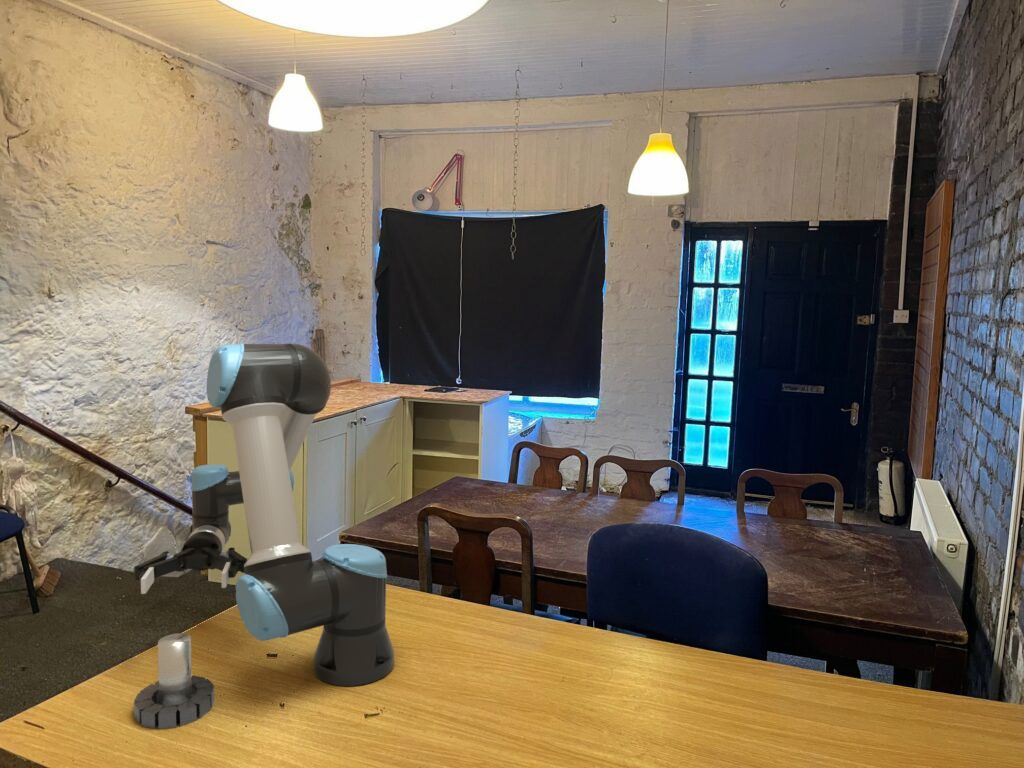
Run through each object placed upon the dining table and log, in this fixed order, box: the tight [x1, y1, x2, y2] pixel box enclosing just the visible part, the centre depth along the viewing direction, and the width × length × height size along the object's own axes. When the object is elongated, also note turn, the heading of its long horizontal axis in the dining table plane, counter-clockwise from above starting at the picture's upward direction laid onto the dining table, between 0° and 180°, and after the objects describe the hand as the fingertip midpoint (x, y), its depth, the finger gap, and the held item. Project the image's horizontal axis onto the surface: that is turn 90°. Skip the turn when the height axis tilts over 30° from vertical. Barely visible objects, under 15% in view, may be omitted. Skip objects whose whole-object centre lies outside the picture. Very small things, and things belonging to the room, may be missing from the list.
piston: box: [157, 632, 192, 706], centre depth 120 cm, size 5×5×12 cm
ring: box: [133, 675, 215, 730], centre depth 120 cm, size 12×12×2 cm
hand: (183, 583), depth 130 cm, fingers open, 13 cm apart
